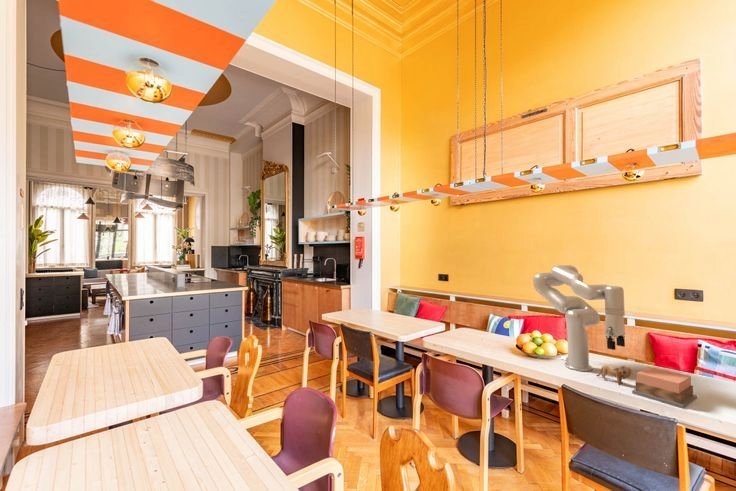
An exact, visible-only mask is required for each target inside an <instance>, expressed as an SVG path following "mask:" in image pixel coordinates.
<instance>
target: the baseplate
mask: <svg viewBox="0 0 736 491" xmlns="http://www.w3.org/2000/svg"><path fill="white" fill-rule="evenodd" d="M631 394H633V395H636V396H640V397H642V398H647V399H650V400H653V401H656V402H659V403H664V404H667V405H669V406H673V407H677V408H680V409H685V408H686V407H688V406H689V405H690V404H692V403H693V402H695V401H696V400H697V399H698V395H696V394H693V396H692V397H690V398H689V399H687V400H686V401H684V402H683V403H681V404H679V403H675V402H672V401H669V400H665V399H662V398H658V397H655V396H651V395H648V394H645V393H641V392H638V391H636V388H635V389H632V390H631Z"/></svg>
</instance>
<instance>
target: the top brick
mask: <svg viewBox="0 0 736 491" xmlns="http://www.w3.org/2000/svg"><path fill="white" fill-rule="evenodd" d="M636 375H637V376H636V377H637V378H636V380H637V382H639V383H643V384H647V385H650V386H654V387H658V388H661V389H665V390H669V391H672V392H676V393H681V392H682V391H684V390H685V389H687V388H688V387H690V386H692V377H691V375H686V374H681V373H677V372H673V371H669V370H665V369H660V368H656V367H653V366H649V367H647V368H645V369H643V370H641V371H638V372H637V374H636Z"/></svg>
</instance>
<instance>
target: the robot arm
mask: <svg viewBox="0 0 736 491" xmlns="http://www.w3.org/2000/svg"><path fill="white" fill-rule="evenodd" d="M532 283H533V287H534V289H535V291H536V292H537V293H538V295H540V296H541V297H542V298H544V299H545V300H546V301H547V302H548V303H549V304H550V305H551V307H553V308H554V309H555V310H556V311H558V312H559V313H561V314H565V315H564V320H565V325H566V330H567V331H566V332H567V356H565V355H562V356H561V361H564V362H565V363H564V366H565V367H566V368H568V369H570V370H573V371H578V372H591V371H593V367H592V365H590V360H589V359H590V356H589V354H590V352H589V334H588V331H587V329H586V328H585V327H592V326H596V325H598V324H600V322H601V316H600V314H599V312H597V310H596V309H595V308H593V307H592V306H591V305H590V304H589V303H588V302H586V300H589V301H599V300H604V313H605V314H604V315H605V318H604V334H605V338H606V348H607V349H608V350H613V351H616V346H619V347H623V348H624V347H626V346H625V345H626V343H625V340H626V339H625V337H626V336H625V334H626V333H625V331H626V327H625V319H624V317H625V316H626V313H625V296H624V295H625V293H624V288H623V287H622V286H618V285H617V286H616V285H607V284H587V283H585V282H584V277H583V275H582V274H581V273H579V271H578V269H577V268H576V267H575V266H573V265H571V264H569V265H555V266H553V267H552V269H551V270H550V272H540V273H537V274H535V275H534V277H533V279H532ZM563 285H566V286H569V287H570V289H571V290H572V293H574V294H575V295H576V296H575V295H572V296H571V295H570V296H569V295H568V296H567V295H565V294H563V293H561V291H559V290H558V289H557V288H555V287H560V286H563ZM584 299H585V300H584ZM615 340H616V341H615Z"/></svg>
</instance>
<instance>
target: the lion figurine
mask: <svg viewBox="0 0 736 491" xmlns="http://www.w3.org/2000/svg"><path fill="white" fill-rule="evenodd" d="M607 375H610V376H612V377H615V378H616V380H617V385H618V386H622V384H624V382H623V381H622V380H626V379H627V378H630V377H631V376H632V369H631V368H630V366H628V365H623V366H620V367H615V368H612V367H610V366H608V365H603V366H601V369H600V372H599V374H596V375H595V376H596V377H599V376H601V378H603V381H606V382H607V381H608V379H607V378H606V376H607Z"/></svg>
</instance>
